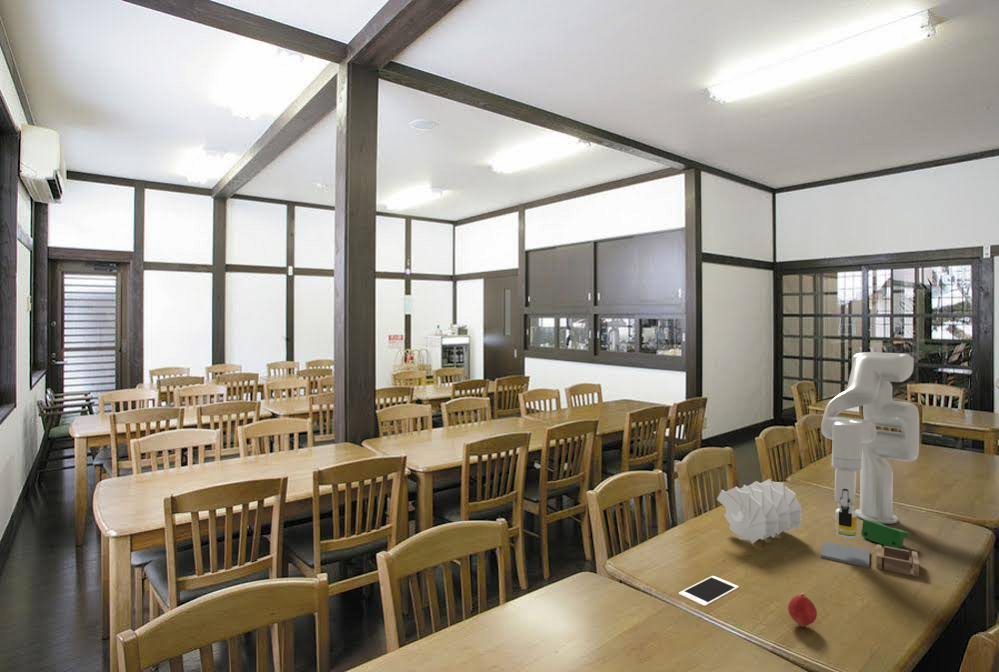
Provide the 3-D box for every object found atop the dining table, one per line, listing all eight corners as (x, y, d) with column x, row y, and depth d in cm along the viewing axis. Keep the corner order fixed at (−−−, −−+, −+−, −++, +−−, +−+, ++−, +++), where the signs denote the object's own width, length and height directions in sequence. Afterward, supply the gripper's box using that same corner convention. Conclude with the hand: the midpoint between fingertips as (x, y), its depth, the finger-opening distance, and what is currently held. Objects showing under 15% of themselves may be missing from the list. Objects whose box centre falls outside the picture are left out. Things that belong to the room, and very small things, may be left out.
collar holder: (876, 555, 161) (876, 544, 161) (916, 563, 156) (916, 552, 156) (876, 567, 153) (876, 555, 153) (918, 576, 148) (919, 564, 148)
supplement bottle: (830, 531, 164) (831, 500, 164) (847, 531, 164) (848, 500, 164) (843, 538, 159) (843, 506, 158) (860, 538, 159) (861, 506, 159)
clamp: (900, 559, 168) (917, 537, 166) (889, 558, 166) (906, 535, 163) (866, 532, 179) (882, 510, 176) (855, 530, 176) (871, 508, 174)
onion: (782, 620, 127) (782, 586, 127) (805, 618, 128) (805, 585, 128) (798, 634, 121) (798, 599, 121) (822, 632, 122) (822, 598, 122)
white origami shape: (794, 544, 179) (747, 557, 167) (751, 507, 193) (705, 517, 180) (820, 502, 173) (774, 512, 160) (774, 466, 186) (728, 474, 174)
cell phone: (677, 595, 140) (677, 592, 140) (713, 577, 149) (713, 575, 149) (704, 608, 134) (704, 605, 134) (739, 588, 143) (739, 586, 143)
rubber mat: (823, 543, 170) (823, 541, 170) (869, 552, 163) (869, 550, 163) (820, 557, 160) (820, 554, 160) (869, 567, 153) (869, 565, 153)
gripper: (833, 455, 170) (832, 511, 171) (829, 467, 156) (829, 528, 157) (862, 458, 166) (861, 516, 166) (860, 471, 152) (859, 534, 152)
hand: (845, 522), depth 161 cm, fingers closed on supplement bottle, 5 cm apart
